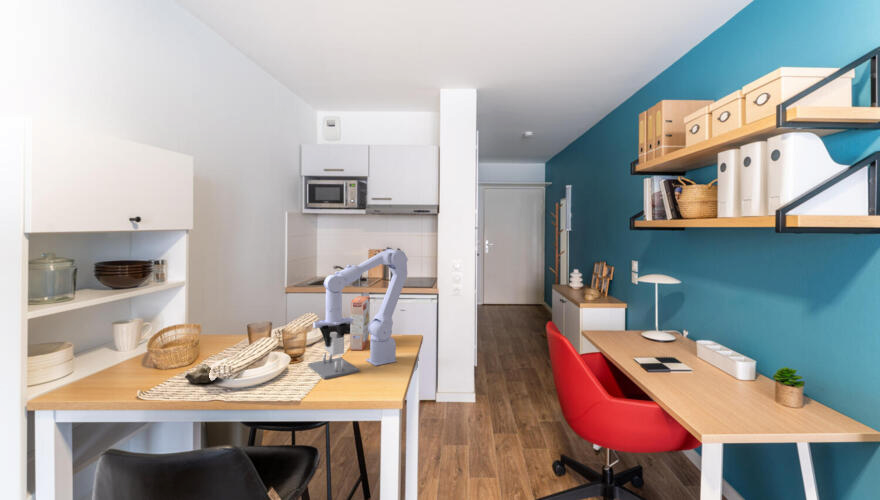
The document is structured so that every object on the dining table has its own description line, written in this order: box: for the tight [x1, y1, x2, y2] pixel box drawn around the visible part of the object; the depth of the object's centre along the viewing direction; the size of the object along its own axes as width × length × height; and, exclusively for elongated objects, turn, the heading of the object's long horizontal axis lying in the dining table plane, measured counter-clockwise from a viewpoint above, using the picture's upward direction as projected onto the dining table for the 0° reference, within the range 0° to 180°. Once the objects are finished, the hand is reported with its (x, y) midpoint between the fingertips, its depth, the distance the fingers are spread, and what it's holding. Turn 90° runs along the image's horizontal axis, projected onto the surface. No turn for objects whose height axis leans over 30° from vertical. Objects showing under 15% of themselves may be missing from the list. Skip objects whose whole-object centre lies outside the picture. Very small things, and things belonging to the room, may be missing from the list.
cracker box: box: [349, 295, 371, 351], centre depth 178 cm, size 14×6×21 cm, turn 179°
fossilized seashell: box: [184, 363, 213, 384], centre depth 135 cm, size 8×7×10 cm
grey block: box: [324, 331, 345, 356], centre depth 148 cm, size 4×8×6 cm, turn 37°
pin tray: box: [307, 352, 360, 381], centre depth 149 cm, size 13×16×4 cm
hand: (333, 345), depth 149 cm, fingers closed on grey block, 4 cm apart
